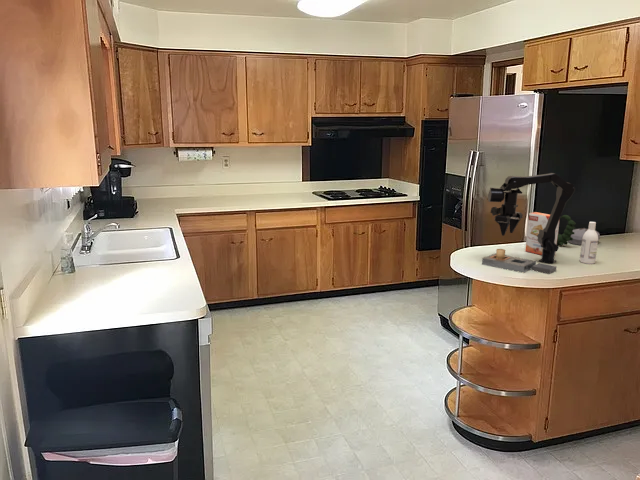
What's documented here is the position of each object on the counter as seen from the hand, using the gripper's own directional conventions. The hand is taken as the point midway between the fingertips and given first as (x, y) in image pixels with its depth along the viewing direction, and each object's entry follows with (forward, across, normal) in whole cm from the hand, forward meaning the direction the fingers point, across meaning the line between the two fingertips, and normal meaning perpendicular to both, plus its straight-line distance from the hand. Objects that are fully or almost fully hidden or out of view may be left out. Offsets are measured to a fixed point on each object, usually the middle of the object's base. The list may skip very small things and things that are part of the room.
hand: (507, 234), depth 254 cm
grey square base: (+13, +5, +21) cm, 25 cm away
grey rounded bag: (+13, -74, +14) cm, 76 cm away
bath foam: (+13, -27, +30) cm, 42 cm away
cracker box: (+13, -27, +7) cm, 31 cm away
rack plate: (+13, +9, +6) cm, 17 cm away
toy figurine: (+13, -56, +2) cm, 58 cm away
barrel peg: (+13, +9, +2) cm, 16 cm away
